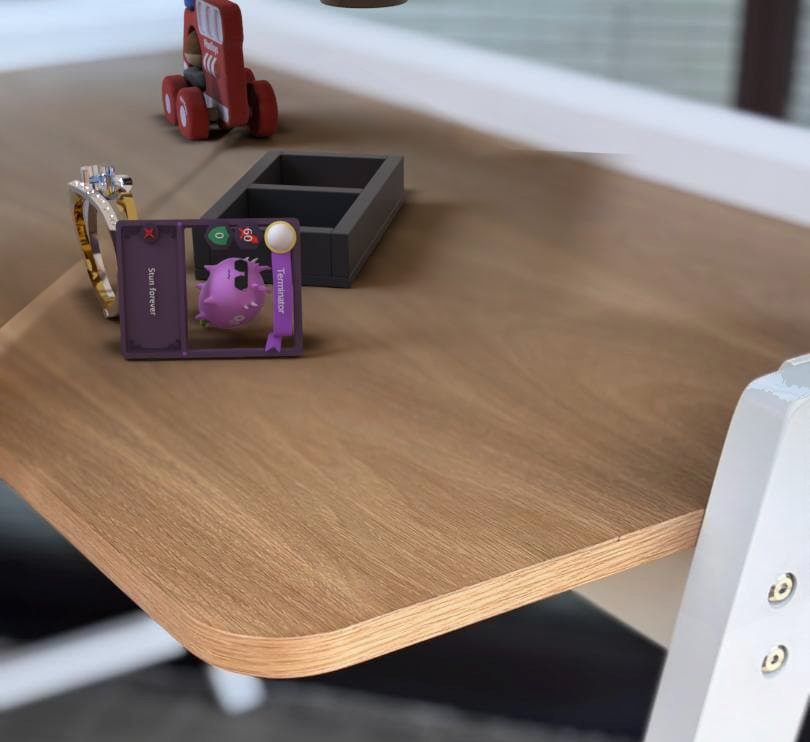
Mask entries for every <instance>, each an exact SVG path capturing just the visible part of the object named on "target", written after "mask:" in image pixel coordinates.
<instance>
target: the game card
mask: <svg viewBox="0 0 810 742" xmlns="http://www.w3.org/2000/svg"><path fill="white" fill-rule="evenodd" d="M230 227H237V228H236V230H235V232H234V233H233V231H232V230H231V228H230ZM259 227H268V228H267V229H266V231H265V236H264V234H263V233H262V231H261V229H260V228H259ZM192 228H208V229H207V230H206V232H205V234H204V238H205V239H206V241H207V243H208V244H209V246H210V248H211V249H212V250H228V249H229V247H230V245H231V243H232V241H233V239H235V241H236V243H237V244H238V246H239V248H240V249H241V250H245V249H257V248H258V246H259V244H260V242H261V240H262V238H263V236H264V237H265V243H266V245H267V247H268V248H269V249H270V250H271V251H272V271H273V283H272V285H273V289H272V290H273V292H272V291H271V289H269V288H268V287H266V286H265V283H264V282H263V279H262V277H261V275H260V273H259V272H261V271H263V270H267V269H268V270H270V269H271V268H270V267H268V266H258V265H259V263H256V264H255V262H256V260H257V259H258V258H256V259H254V260H252V261H248V258H249V257H247V258H245V259H240V258H229V259H226V260H224V261H222V262H220V263H219V264H217V265H205V266H204V267H205V268H206V269H207V270H208V271H209V272H210V276H209V278H208V280H206V282H199V283H196V284H195V287H196V288H197V289H199V290H200V293H199V297H198V304H197V305H198V310H199V313H198V314H197V315H195V316H194V319H195V320H199V325H200V326H201V327H205V328H207V327H208V326H213V327H216V328H218V329H233V328H238V327H241V326H244V325H246V324H247V323H249V322H251V321H252V320H253V319H254V318H255V317H256V316H258V314H259V313H260V311H261V310H262V308H263V306H264V305H265V301H266V294H272V293H273V303H272V304H273V305H272V306H273V314H272V315H273V317H272V318H273V323H272V325H273V332H269V334H268V336H267V339H266V345H265V347H243V348H240V347H239V348H238V347H237V348H191V347H190V337H189V314H188V313H189V312H188V311H189V310H188V289H187V288H188V286H187V285H188V284H187V263H186V236H185V229H192ZM116 247H117V268H118V290H119V312H120V316H119V329H120V330H119V331H120V332H119V333H120V352H121V356H122V358H124V359H169V358H170V359H171V358H173V359H174V358H180V359H181V358H231V357H236V358H237V357H285V356H286V357H287V356H288V357H291V356H292V357H293V356H294V357H295V356H301V355H302V354H303V352H304V337H303V336H304V334H303V333H304V331H303V299H302V298H303V295H302V285H301V254H300V223H299V220H298V219H296V218H243V219H200V218H184V219H183V218H182V219H181V218H179V219H178V218H177V219H138V220H123V219H119V220H118V221H117V222H116ZM291 249H292V272H291V256H290V250H291ZM292 277H293V285H292ZM292 335H293V344H294V345H293V347H282V339H283V337H291V336H292Z"/></svg>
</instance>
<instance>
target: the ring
mask: <svg viewBox="0 0 810 742" xmlns="http://www.w3.org/2000/svg"><path fill="white" fill-rule="evenodd" d="M115 170H116V167H115V166H114V165H110V164H109V165H107V164H106V163H104V164H99V165H98V164H95V165H94V164H93V165H89V166H88V165H83V166H82V167H79V171H80V176H81V181H80V180H78V179H74V180H72V181H70V182H67V183H66V185H67V186H68V187H69V189H68V192H67V200H68V206H69V211H70V215H71V219H72V224H73V228H74V231H75V235H76V239H77V243H78V246H79V249H80V252H81V256H82V259H83V263H84V266H85V268H86V272H87V274H88V277H89V281H90V283H91V285H92V288H93V290H94V291H93V292H94V293H95V296H96V298H97V300H98V302H99V303H100V306H101V308H102V311H103V315H104V316H105V318H106V319H109V318H116V317H120V312H119V290H118V268H117V247H116V222H117V221H119V220H118V217H117V214H116V213H115V211H114V209H113V207H112V206H111V204H110V203H109V201H114V200H116V203H115V205H116V206H117V208H118V211H119V213H120V215H121V218H122V220H139V217H138V211H137V206H136V202H135V198H134V196H133V194H132V191H131V190H132V188H133V182H134V181H133V179H132V178H131V177H130V175H127V174H116V172H115ZM116 186H118V187H119V189H117V190H116ZM84 203H85V205H84ZM98 214H99V215H100V216H101V218H102V220H103V222H104V224H105V226H106V228H107V231H108V234H109V237H110V240H111V245H112V249H113V254H114V259H115V269H116V292H114V291H113V288H112V286H111V284H110V281H109V277H108V275H107V272H106V269H105V265H104V261H103V258H102V257H103V256H102V252H101V247H100V242H99V241H100V240H99V234H98V233H99V232H98ZM84 216H85V217H84Z"/></svg>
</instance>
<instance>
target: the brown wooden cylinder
mask: <svg viewBox="0 0 810 742" xmlns="http://www.w3.org/2000/svg"><path fill="white" fill-rule="evenodd" d="M319 1H320V3H321V4H322V5H325V6H329V7H333V8H334V7H335V8H342V9H343V8H344V9H382V8H383V9H384V8H391V7H397V6H401V5H404V4H406V3H408V2H409V0H319Z"/></svg>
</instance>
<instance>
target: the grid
mask: <svg viewBox="0 0 810 742" xmlns="http://www.w3.org/2000/svg"><path fill="white" fill-rule="evenodd" d="M404 193H405V156H404V155H397V154H377V153H376V154H375V153H353V152H352V153H350V152H347V153H346V152H331V151H330V152H329V151H307V150H306V151H305V150H279V149H278V150H277V149H269V150H268V151H267V152H266V153H265V154H264V155H263V156H262V157H261V158H260V159H258V161H256V163H255V164H254V165H252V167H251V168H250V169H249V170H247V172H246V173H244V174H243V175H242V177H241V178H239V179H238V180H237V181H236V182H235V183H234V184H233V185H232V186H231V187H230V188H229V189H228V190H227V191H226V192H225V193H224V194H223V195H222V196H221V197H220V198H219V199H218V200H217V201H216V202H215V203H214V204H213V205H212V206H211V207H209V208H208V209H207V211H205V212H204V213H203V214H202V216H200V217H199V219H243V218H296V219H298V220H299V223H300V254H301V286H311V287H327V288H330V287H331V288H347V289H349V288H350V287H352V284H353V283H354V281H355V280H356V278H357V276H358V275H359V273H360V272H361V270H362V269H363V267H364V266H365V264H366V262H367V261H368V260H369V258H370V256H371V255H372V253H373V251H374V250H375V248H376V247H377V245H378V244H379V242H380V241H381V239H382V237H383V236H384V235H385V233H386V231H387V229H389V226H390V225H391V223H392V222H393V221H394V218H395V217H396V216H397V214H398V213H399V211H400V209H401V208H402V206H403V205H404V203H405V194H404ZM230 228H231V230H232V231H233V233H234V232H235V230H236V228H237V227H230ZM259 228H260V229H261V231H262V233H263V234H264V236H265V231H266V229H267V228H268V227H259ZM207 229H208V228H191V238H192V251H193V253H192V254H193V266H194V278H195V280H204V281H205V280H206V281H207V280H208V278H209V276H210V272H209V271H208V270H207V269H206V268H205V267H204V266H205V265H217V264H219V263H220V262H222V261H224V260H226V259H229V258H240V259H245V258H247V257H249V258H248V261H252V260H254V259H256V258H258V259H257V260H256V262H255V264H256V263H259V265H258V266H268V267H270V268H271V269H270V270H268V269H267V270H263V271H261V272H259V273H260V275H261V277H262V279H263V282H264V284H273V271H272V251H271V250H270V249H269V248H268V247H267V245H266V243H265V237H264V236H263V238H262V240H261V242H260V244H259V246H258V248H257V249H245V250H241V249H240V248H239V246H238V244H237V243H236V241H235V239H233V241H232V243H231V245H230V247H229V249H228V250H212V249H211V248H210V246H209V244H208V243H207V241H206V239H205V238H204V234H205V232H206V230H207ZM290 256H291V272H292V249H291V250H290ZM292 286H293V277H292Z"/></svg>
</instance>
